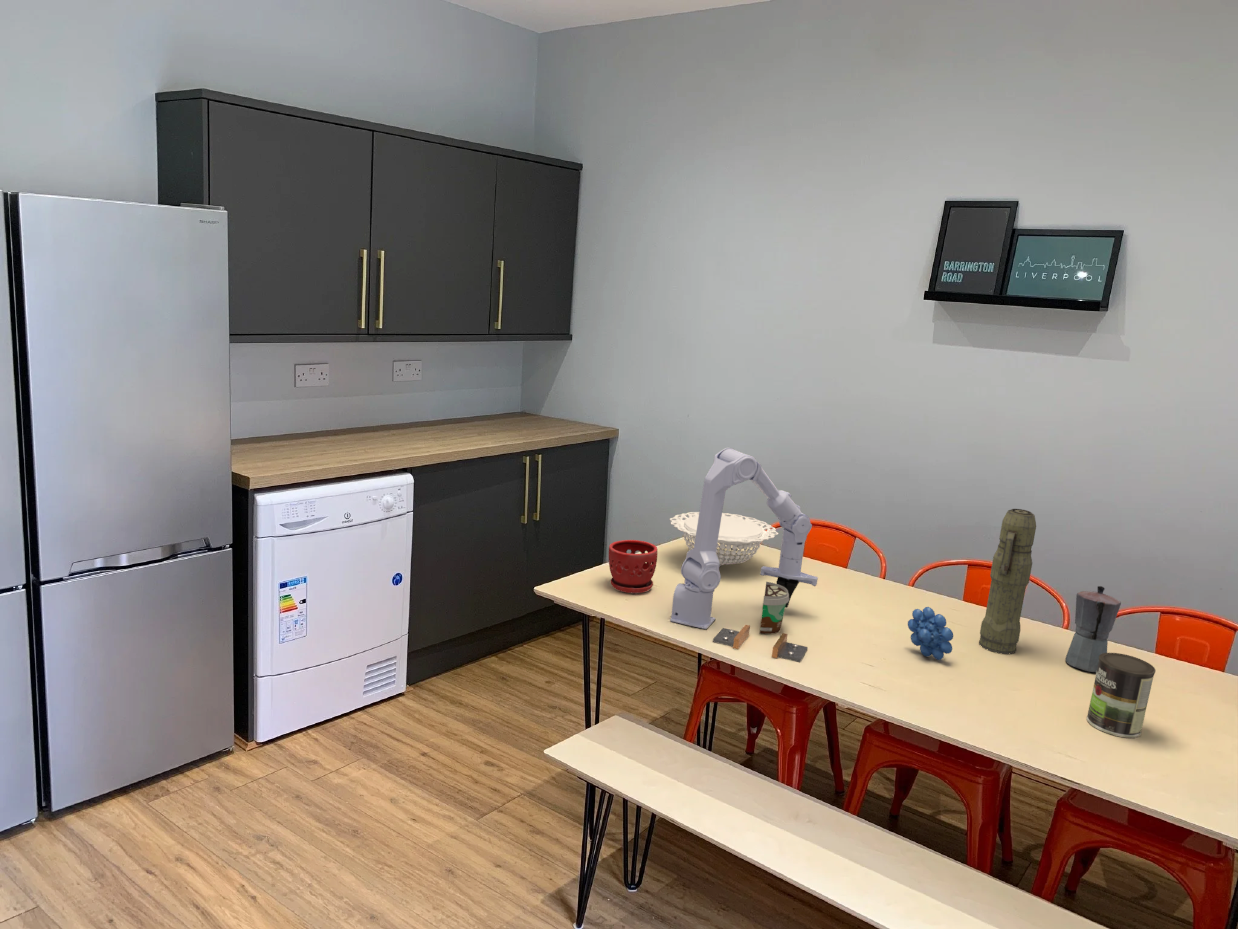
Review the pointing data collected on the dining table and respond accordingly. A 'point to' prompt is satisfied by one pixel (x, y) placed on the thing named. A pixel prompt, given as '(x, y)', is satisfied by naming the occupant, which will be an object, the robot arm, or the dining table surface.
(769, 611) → the food container
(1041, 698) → the dining table surface
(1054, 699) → the dining table surface
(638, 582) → the plant pot
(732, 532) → the white lattice basket
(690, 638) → the dining table surface
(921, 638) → the grapes
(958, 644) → the dining table surface
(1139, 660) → the coffee can
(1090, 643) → the moka pot
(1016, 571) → the thermos
